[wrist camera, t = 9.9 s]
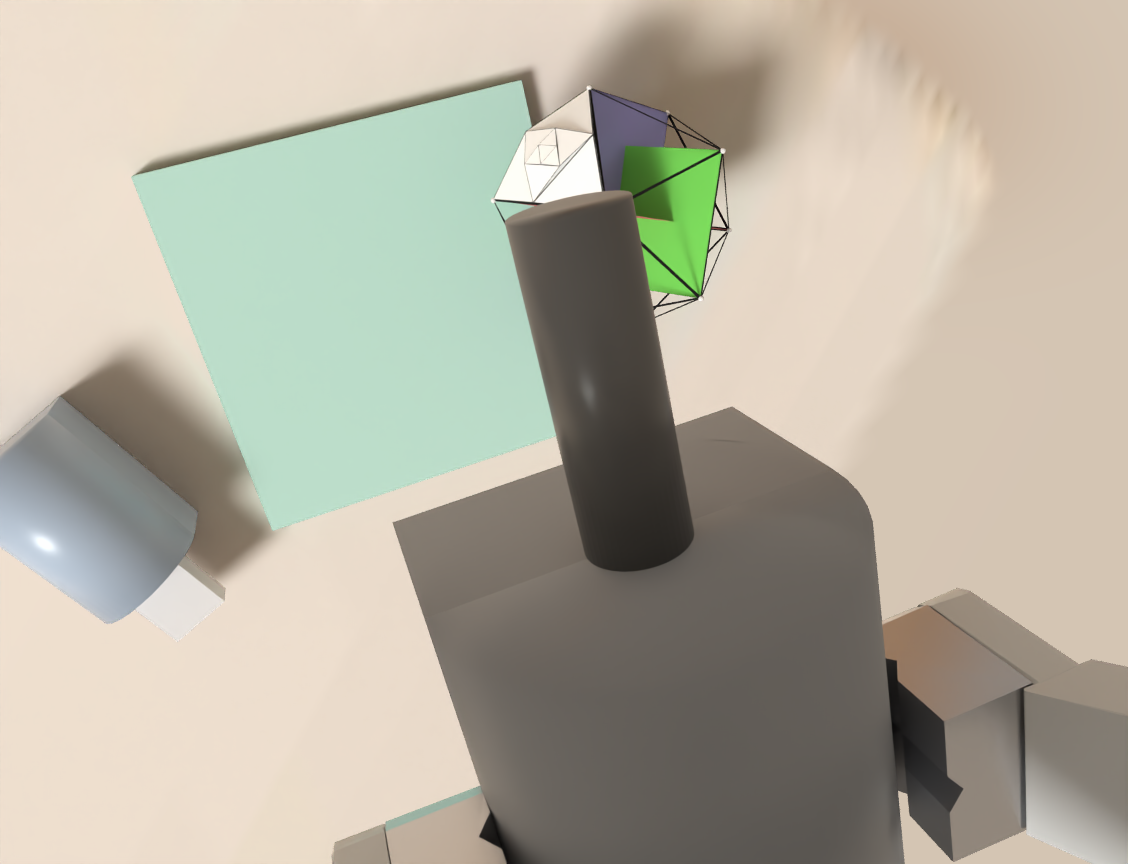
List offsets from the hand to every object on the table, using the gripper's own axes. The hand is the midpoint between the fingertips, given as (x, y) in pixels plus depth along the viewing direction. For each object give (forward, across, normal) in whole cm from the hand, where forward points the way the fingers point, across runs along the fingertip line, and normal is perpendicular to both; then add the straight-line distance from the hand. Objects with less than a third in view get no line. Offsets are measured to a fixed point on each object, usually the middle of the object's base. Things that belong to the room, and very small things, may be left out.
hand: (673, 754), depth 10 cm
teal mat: (+23, 0, 0) cm, 23 cm away
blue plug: (+23, +11, +4) cm, 26 cm away
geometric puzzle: (+23, -6, -2) cm, 24 cm away
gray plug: (+2, 0, 0) cm, 2 cm away
